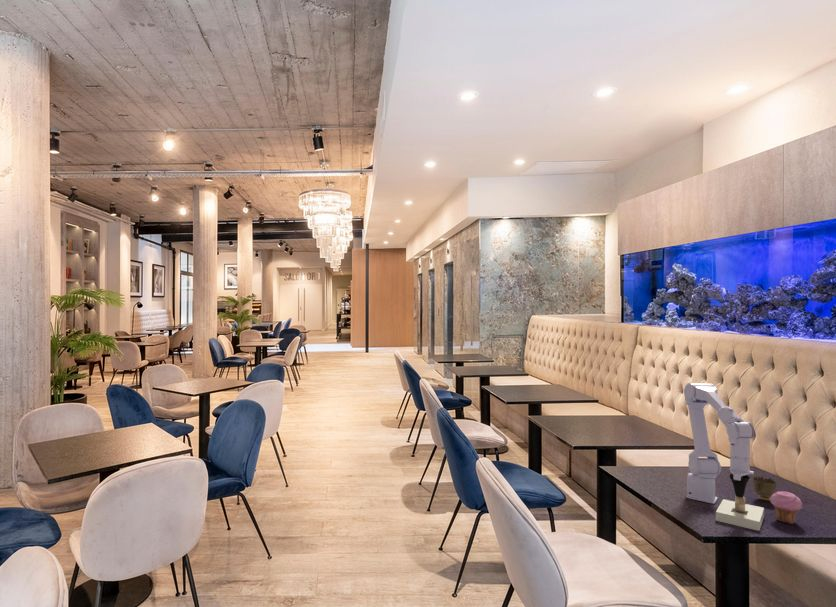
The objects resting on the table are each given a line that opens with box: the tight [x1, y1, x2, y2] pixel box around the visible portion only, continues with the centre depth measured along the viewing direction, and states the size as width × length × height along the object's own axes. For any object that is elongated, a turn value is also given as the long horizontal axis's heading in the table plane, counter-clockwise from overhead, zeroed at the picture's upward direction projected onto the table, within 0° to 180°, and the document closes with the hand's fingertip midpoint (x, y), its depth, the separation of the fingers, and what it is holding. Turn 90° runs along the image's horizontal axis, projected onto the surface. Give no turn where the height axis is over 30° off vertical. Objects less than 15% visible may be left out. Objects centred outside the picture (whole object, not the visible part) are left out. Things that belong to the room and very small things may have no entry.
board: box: [715, 498, 765, 531], centre depth 176 cm, size 12×16×3 cm
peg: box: [734, 495, 746, 515], centre depth 174 cm, size 3×3×8 cm
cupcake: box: [770, 491, 803, 525], centre depth 175 cm, size 9×9×10 cm
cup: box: [752, 475, 777, 502], centre depth 195 cm, size 8×7×8 cm
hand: (739, 496), depth 175 cm, fingers closed
